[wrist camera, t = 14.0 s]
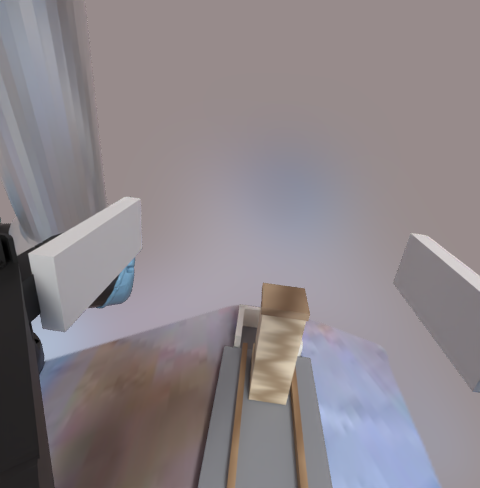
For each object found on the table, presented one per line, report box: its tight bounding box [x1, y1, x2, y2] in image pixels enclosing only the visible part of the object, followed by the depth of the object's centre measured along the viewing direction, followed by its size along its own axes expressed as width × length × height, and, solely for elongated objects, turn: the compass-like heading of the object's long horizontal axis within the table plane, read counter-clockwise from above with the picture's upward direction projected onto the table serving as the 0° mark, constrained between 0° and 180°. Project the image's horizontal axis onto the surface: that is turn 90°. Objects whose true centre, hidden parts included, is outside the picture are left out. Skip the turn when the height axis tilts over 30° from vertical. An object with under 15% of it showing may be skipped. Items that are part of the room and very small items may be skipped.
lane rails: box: [227, 343, 308, 488], centre depth 39 cm, size 8×21×1 cm, turn 175°
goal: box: [234, 305, 303, 357], centre depth 54 cm, size 11×9×4 cm
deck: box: [198, 346, 332, 488], centre depth 38 cm, size 14×26×2 cm, turn 175°
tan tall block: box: [249, 283, 310, 405], centre depth 41 cm, size 5×8×15 cm, turn 175°
